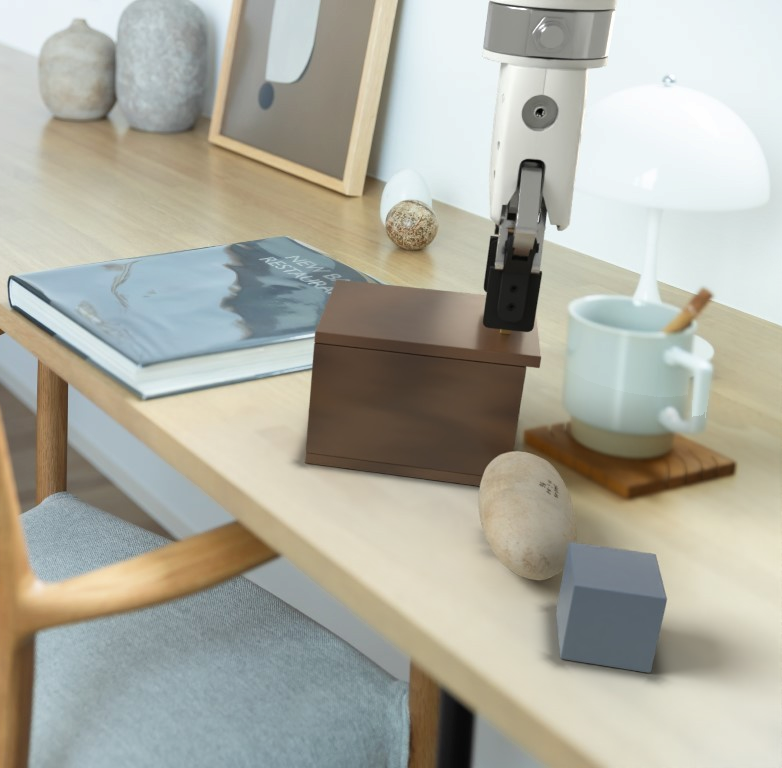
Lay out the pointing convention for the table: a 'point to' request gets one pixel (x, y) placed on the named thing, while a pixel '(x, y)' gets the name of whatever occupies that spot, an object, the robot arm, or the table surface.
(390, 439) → the keepsake box
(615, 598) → the block
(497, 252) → the robot arm
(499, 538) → the stone
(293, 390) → the table surface
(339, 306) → the lid
